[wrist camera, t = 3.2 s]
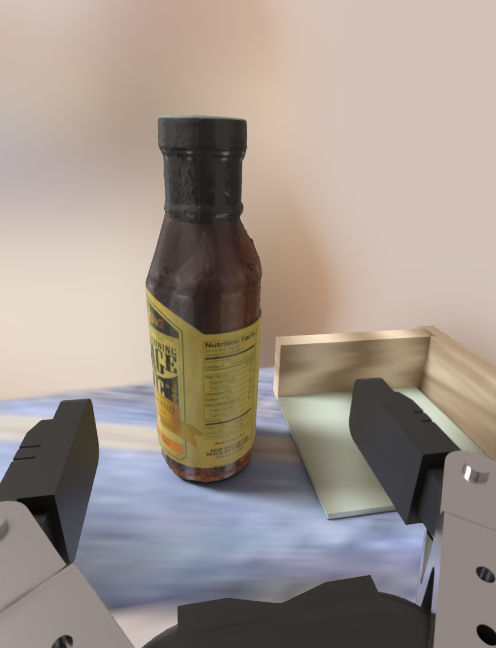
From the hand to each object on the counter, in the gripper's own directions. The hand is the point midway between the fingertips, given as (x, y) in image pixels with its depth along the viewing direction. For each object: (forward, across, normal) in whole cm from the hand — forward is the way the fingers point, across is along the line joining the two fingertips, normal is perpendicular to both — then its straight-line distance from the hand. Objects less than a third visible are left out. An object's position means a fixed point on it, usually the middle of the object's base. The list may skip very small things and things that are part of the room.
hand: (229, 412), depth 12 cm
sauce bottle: (+11, 0, +11) cm, 16 cm away
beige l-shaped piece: (+12, -13, +11) cm, 21 cm away
